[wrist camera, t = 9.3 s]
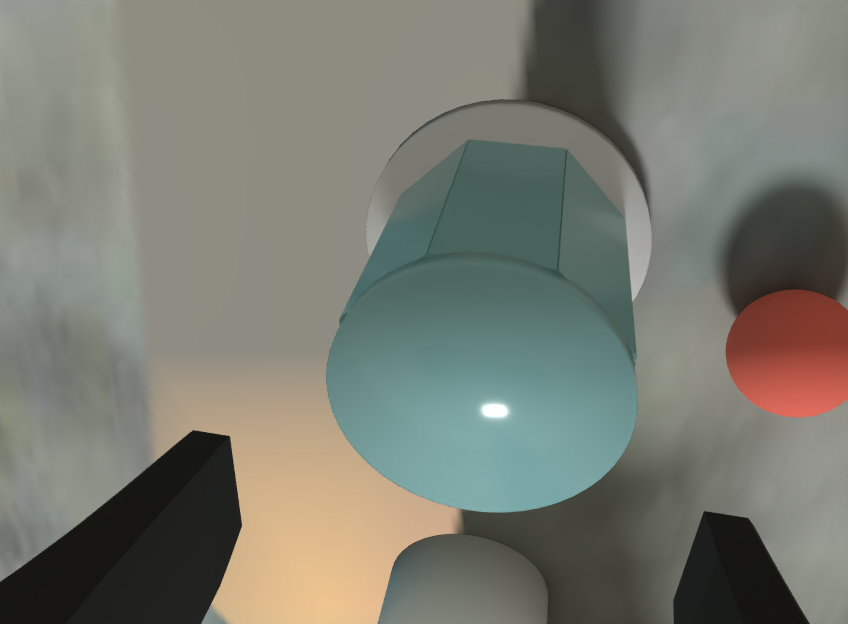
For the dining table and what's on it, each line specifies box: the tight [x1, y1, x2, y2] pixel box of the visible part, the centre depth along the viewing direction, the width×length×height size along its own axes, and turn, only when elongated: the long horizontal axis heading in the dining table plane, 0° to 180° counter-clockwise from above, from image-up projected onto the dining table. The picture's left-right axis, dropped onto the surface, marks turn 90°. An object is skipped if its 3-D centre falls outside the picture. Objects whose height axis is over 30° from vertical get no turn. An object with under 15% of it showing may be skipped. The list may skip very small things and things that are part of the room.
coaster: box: [366, 99, 651, 302], centre depth 19 cm, size 7×7×1 cm
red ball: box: [726, 289, 848, 417], centre depth 18 cm, size 3×3×3 cm
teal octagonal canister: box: [326, 139, 638, 512], centre depth 17 cm, size 6×6×6 cm
